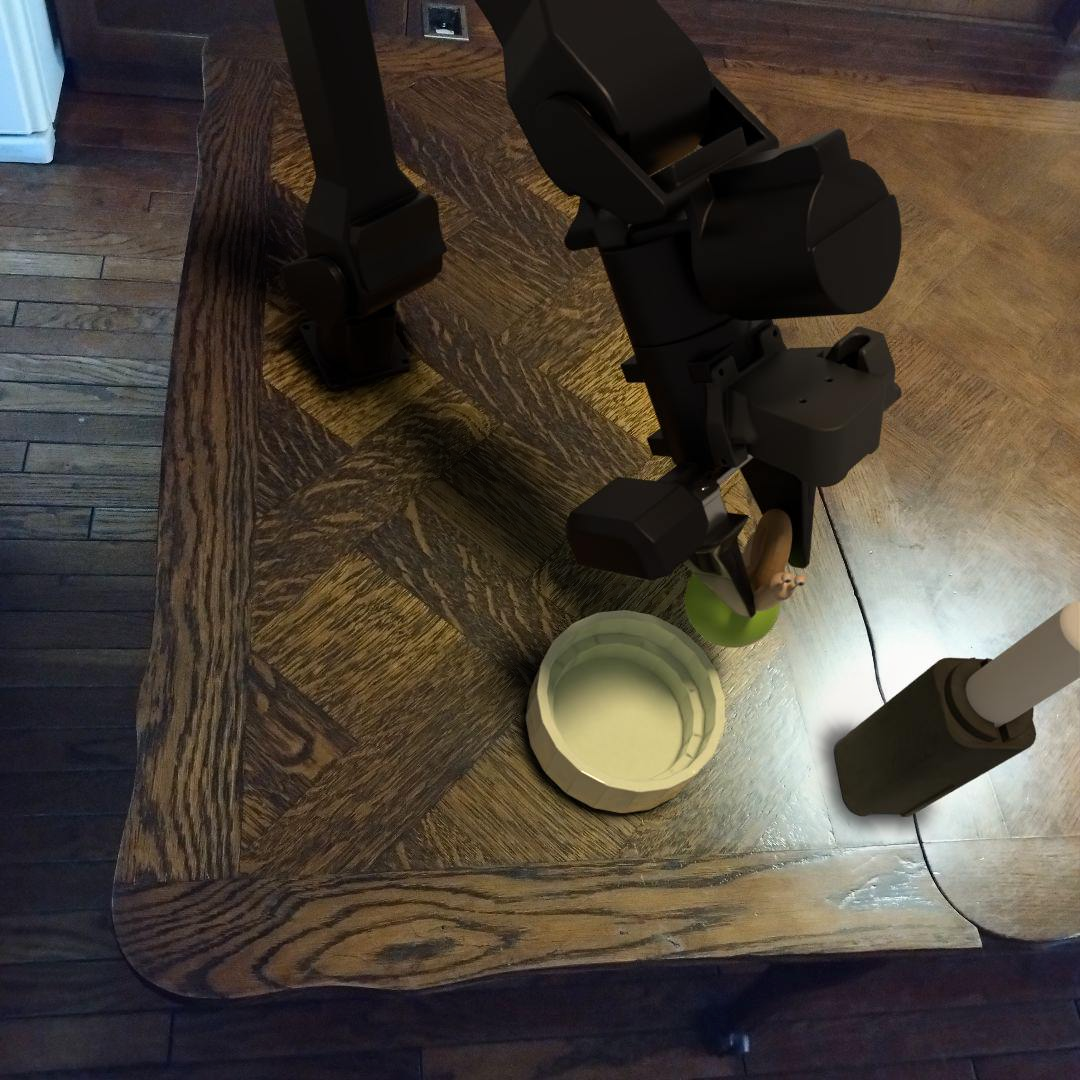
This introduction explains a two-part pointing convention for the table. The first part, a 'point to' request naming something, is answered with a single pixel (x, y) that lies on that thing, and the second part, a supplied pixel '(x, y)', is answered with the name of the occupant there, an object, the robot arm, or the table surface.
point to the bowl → (624, 711)
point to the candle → (956, 721)
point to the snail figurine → (767, 582)
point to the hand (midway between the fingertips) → (773, 590)
